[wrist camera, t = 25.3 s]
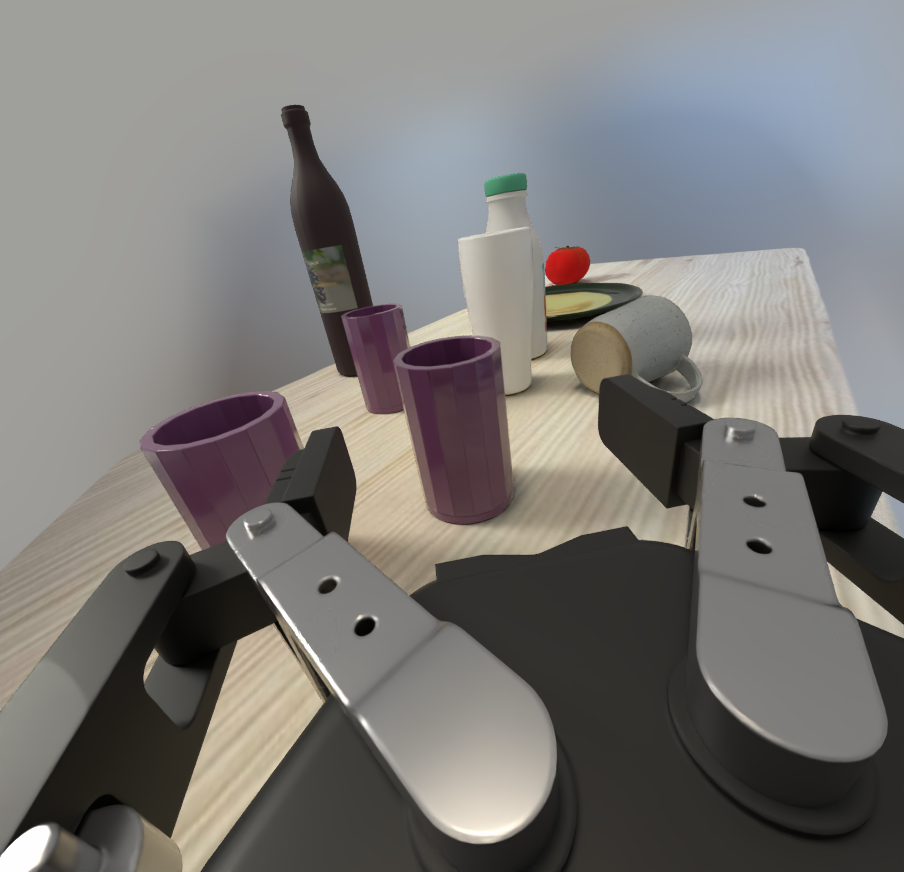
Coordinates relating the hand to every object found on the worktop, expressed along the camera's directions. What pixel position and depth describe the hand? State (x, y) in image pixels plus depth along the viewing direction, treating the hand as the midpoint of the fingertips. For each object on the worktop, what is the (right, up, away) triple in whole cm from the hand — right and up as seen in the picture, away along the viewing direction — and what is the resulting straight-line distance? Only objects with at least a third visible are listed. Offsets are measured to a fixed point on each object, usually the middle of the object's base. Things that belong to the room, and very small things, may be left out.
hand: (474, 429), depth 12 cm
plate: (+18, +22, +59) cm, 65 cm away
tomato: (+27, +37, +83) cm, 94 cm away
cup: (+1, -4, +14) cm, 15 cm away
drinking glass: (+5, +5, +30) cm, 31 cm away
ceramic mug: (+17, +4, +25) cm, 31 cm away
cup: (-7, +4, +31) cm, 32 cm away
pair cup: (-10, -8, +11) cm, 17 cm away
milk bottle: (+8, +11, +40) cm, 42 cm away
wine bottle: (-14, +10, +45) cm, 48 cm away
